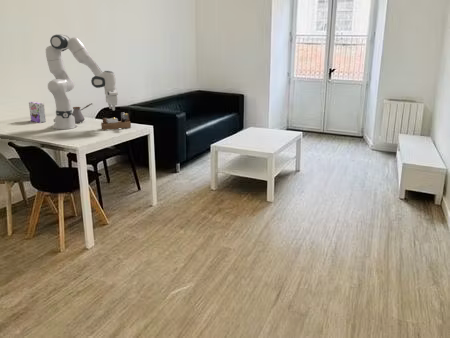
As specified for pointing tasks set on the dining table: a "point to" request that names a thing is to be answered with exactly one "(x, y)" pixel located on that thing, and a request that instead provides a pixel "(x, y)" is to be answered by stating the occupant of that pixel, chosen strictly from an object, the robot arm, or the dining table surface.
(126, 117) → the lever
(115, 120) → the cap
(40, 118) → the candy box
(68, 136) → the dining table surface
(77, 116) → the coffee pot
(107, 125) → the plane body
